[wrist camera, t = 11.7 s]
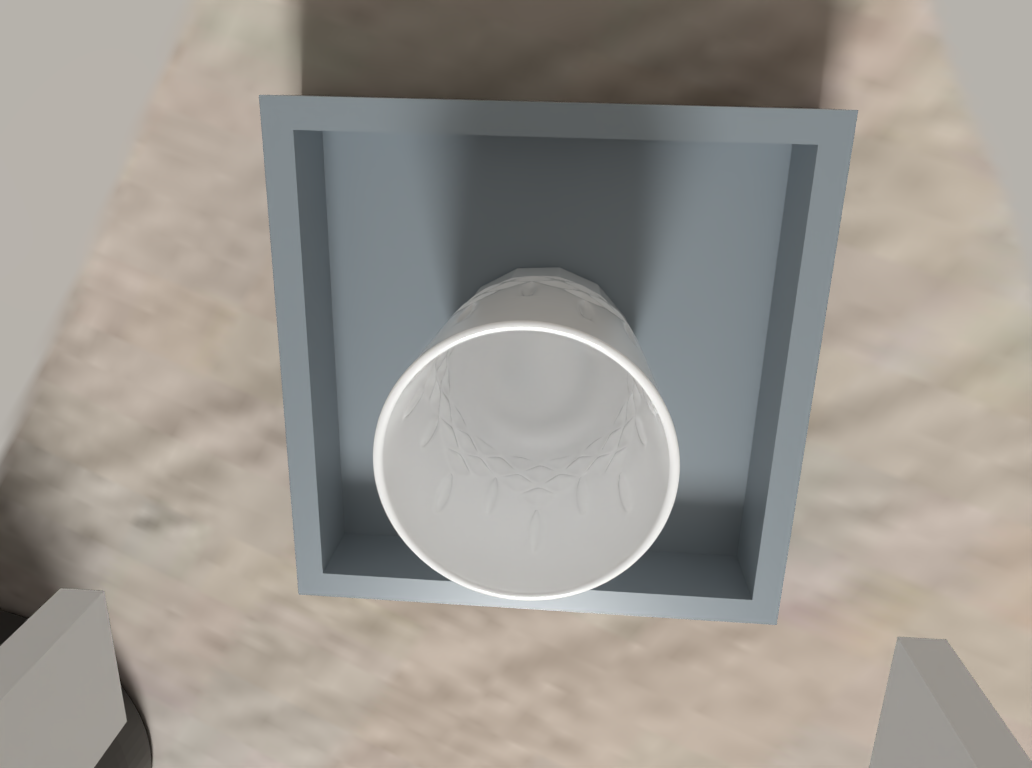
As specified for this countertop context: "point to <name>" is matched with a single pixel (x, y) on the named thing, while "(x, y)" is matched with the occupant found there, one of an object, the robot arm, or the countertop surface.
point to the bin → (587, 253)
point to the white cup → (529, 442)
